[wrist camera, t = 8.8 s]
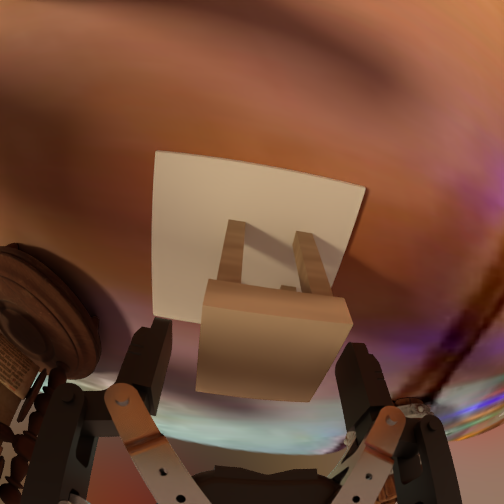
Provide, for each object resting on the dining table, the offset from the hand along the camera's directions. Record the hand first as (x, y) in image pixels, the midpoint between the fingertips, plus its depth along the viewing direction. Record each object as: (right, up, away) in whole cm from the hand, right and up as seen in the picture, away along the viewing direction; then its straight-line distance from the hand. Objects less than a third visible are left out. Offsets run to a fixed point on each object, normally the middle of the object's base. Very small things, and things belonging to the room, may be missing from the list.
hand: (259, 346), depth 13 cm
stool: (0, +4, +6) cm, 7 cm away
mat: (-1, +4, +6) cm, 7 cm away
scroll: (-20, -1, +10) cm, 22 cm away
